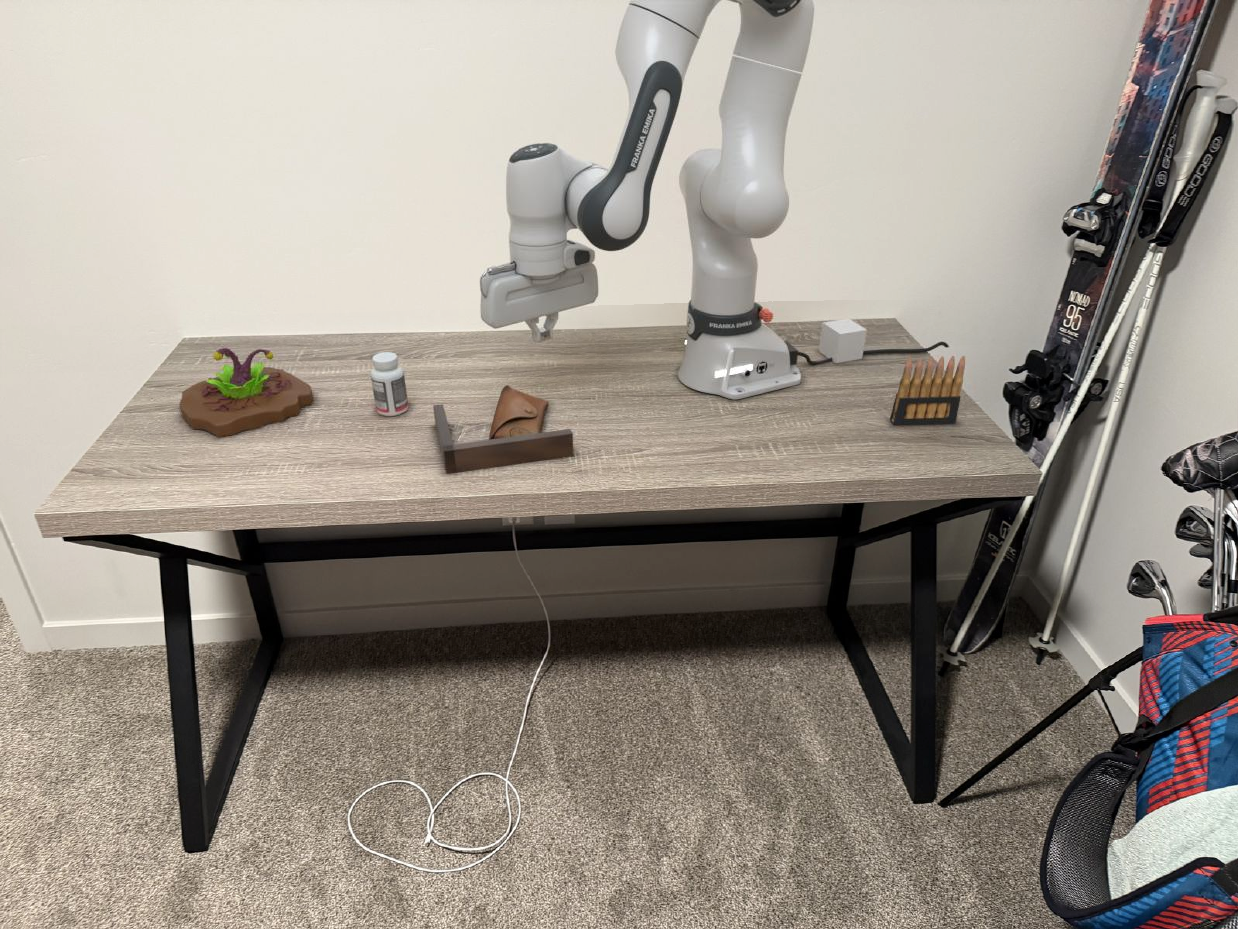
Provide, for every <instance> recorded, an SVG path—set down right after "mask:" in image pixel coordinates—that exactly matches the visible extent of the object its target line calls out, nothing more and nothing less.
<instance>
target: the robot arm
mask: <svg viewBox="0 0 1238 929" xmlns="http://www.w3.org/2000/svg"><path fill="white" fill-rule="evenodd" d="M721 1H722V0H629V3H628V6H627V8H626V10H625V14H624V15H623V18H622V21H621V24H620V26H619V30H618V35H617V39H616V44H615V49H614V50H615V51H614V54H615V60H616V63H617V67H618V69H619V72H620V73H621V75H622V77H623V79H624V82H625V85H626V89H627V93H628V103H629V104H628V110H627V111H628V112H627V116H626V118H625V119H626V120H625V123H624V126H623V129H622V132H621V135H620V138H619V140H618V144H617V147H616V149H615V153H614V155H613V159H612V162H611V164H610V167H609V168H607V167H605V166H603V165H601V164H599V163H596V162H592V161H587V160H583V159H581V158H578V157H576V156H574V155H571V154H570V153H568V152H566V151H564V150H563V149H562V148H560V147H559V146H558V145H556V144H555V143H550V142H543V143H532V144H528V145H525V146H522V147H521V148H518V149H517V150H516V151H514V152H513V153H512V154H511V155H510V157H509V159H508V162H507V165H506V175H505V176H506V177H505V198H506V199H505V200H506V211H507V215H508V217H509V221H510V226H509V227H510V228H509V232H508V244H509V245H508V248H509V262H507V263H503V264H500V265H497V266H496V265H493V266H490V267H488V268H486V271H484V272H483V273H482V275H481V276H480V278H479V287H480V288H479V290H480V304H479V305H480V306H479V308H480V310H479V312H480V319H481V321H482V322H484V323H485V324H486V325H487V326H489V327H490V328H492V329H500V328H501V329H502V328H504V327H508V326H512V325H516V324H519V323H523V322H525V324H526V325H527V327H528V328H529V330H530V331H531V338H532V341H533V342H534V343H536V344H538V343H541V342H544V341H549V340H553V339H554V332H553V331H554V328H555V326H556V324H557V322H558V320H559V313H560V312H564V311H568V310H572V309H576V308H580V307H583V306H586V305H591V304H594V303H595V302H596V300H597V299H598V296H599V277H598V270H597V267H596V265H595V264H594V262H595V260H596V251H595V250H594V249H593V248H591V247H589V246H587V245H585V244H583V243H581V242H578V241H575V240H571V239H568V232H569V231H571V230H579V231H580V232H581V233H582V234H583V236H584V237H585V238H586V239H587V240H588V242H589V243H590V244H591V245H592V246H594V247H595V248H597V249H599V250H602V251H605V252H617V251H622V250H624V249H626V248H629V247H630V246H632V245H633V244H635V243H636V242H637V241H638V240H639V239H640V237H641V236H642V235H643V233H644V231H645V230H646V227H647V226H648V222H649V218H650V209H651V208H650V207H651V194H652V188H653V183H654V179H655V177H656V173H657V171H658V168H659V166H660V162H661V160H662V156H663V153H664V151H665V147H666V144H667V142H668V138H669V135H670V133H671V130H672V126H673V124H674V121H675V118H676V114H677V111H678V108H679V105H680V104H679V103H680V102H681V97H682V96H681V95H682V91H683V86H684V82H685V78H686V75H687V71H688V69H689V66H690V64H691V60H692V58H693V55H694V53H695V50H696V48H697V46H698V44H699V41H700V39H701V36H702V34H703V31H704V29H705V26H706V24H707V20H708V17H710V15H711V13H712V12H713V10H714V9H715V7H716V6H717V5H718V4H719V3H721ZM727 1H728V2H731V3H736V4H738V6H739V12H740V25H739V26H740V27H739V33H738V35H737V38H736V41H735V44H734V48H733V52H732V55H731V59H730V62H729V67H728V70H727V75H726V78H725V81H724V86H723V89H722V93H721V96H720V101H719V104H718V114H719V115H718V116H719V119H720V122H721V148H702V149H699V150H696V151H695V152H693V153H691V154H690V155H689V156H688V157H687V158H686V159H685V161H684V162H683V164H682V166H681V167H680V171H679V174H678V185H679V189H680V192H681V194H682V197H683V200H684V204H685V210H686V218H687V226H688V232H689V240H690V246H691V247H690V248H691V255H692V256H691V257H692V267H691V268H692V269H691V270H692V271H691V290H690V292H691V293H690V300H689V301H688V303H687V304H688V305H687V315H686V334H687V338H686V340H685V341H684V345H685V348H684V353H683V356H682V360H681V363H680V366H679V369H678V372H677V378H678V380H679V381H680V383H682V384H683V385H684V386H686V387H688V388H690V389H692V390H694V391H697V392H698V391H699V392H701V393H705V394H711V395H717V396H721V397H723V398H727V399H729V400H735V401H736V400H737V401H738V400H741V399H745V398H750V397H754V396H757V395H761V394H766V393H769V392H773V391H777V390H782V389H786V388H789V387H794V386H797V385H800V384H802V374H801V371H800V369H799V368H798V366H797V364H798V363H797V362H798V357H803V358H804V359H805V360H806V363H808V364H809V365H811V366H812V365H813V366H818V365H819V366H820V365H822V364H828V363H831V362H833V361H832V360H833V359H832V358H826V359H824V360H820V361H814V360H811V358H810V356H809V354H807V353H805V352H801V351H799V349H797V348H795V346H793V345H792V344H791V343H790V342H789V341H788V340H784V339H783V338H782V337H780V336H779V335H778V334H777V333H776V332H775V331H773V330H772V329H771V328H770V327H769V326H767V325H766V324H764V323H772V320H774V313H773V312H772V311H771V310H770V309H769V308H765V307H763V306H762V305H761V304H759V303H757V302H756V301H755V300H756V299H755V298H756V289H757V281H758V280H757V279H758V268H759V262H758V257H757V254H756V252H755V250H754V247H753V243H752V239H757V240H758V239H763V238H766V237H769V236H771V235H773V234H774V233H775V232H777V230H778V229H779V228H780V227H781V226H782V225H783V223H784V221H785V220H786V218H787V216H788V212H789V208H790V196H789V193H788V190H787V186H786V183H785V182H786V181H785V171H784V170H785V169H784V168H785V148H786V138H787V131H788V130H787V129H788V125H789V120H790V117H791V113H792V110H793V106H794V103H795V98H796V95H797V92H798V88H799V85H800V81H801V78H802V75H803V74H802V73H803V72H804V68H805V64H806V62H807V61H806V60H807V57H808V53H809V48H810V43H811V38H812V32H813V24H814V18H815V3H814V1H813V0H727ZM542 317H546V318H545V320H544V323H543V326H541V327H538V326H537V324H539V323H540V318H542ZM762 321H763V322H764V323H763V322H762ZM940 346H943V347H944V348H950V346H949V344H948V343H947V342H946V341H939V342H937V343H934V344H933V345H931V346H929V347H925V348H885V349H870V350H863V356H865V355H875V354H876V355H877V354H892V353H893V354H916V353H917V354H918V353H927V352H930V351H933V350H935V349H937V348H938V347H940Z"/></svg>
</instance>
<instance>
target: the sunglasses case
mask: <svg viewBox="0 0 1238 929" xmlns="http://www.w3.org/2000/svg"><path fill="white" fill-rule="evenodd" d="M549 402H550V401H549V400H546V399H542V398H539V397H536V396H534V395H531V394H528V393H526V392H522V391H520V390H517V389H515V388H513V387H511V385H509V384H506V385H504V386H503V388H502V389H501V392H500V394H499V397H498V400H497V404H496V407H495V411H494V415H493V419H492V422H491V427H490V431H489V434H488V435H489V436H488V440H491V439H499V438H506V437H513V436H521V435H528V434H536V433H542V427H543V423H544V420H545V419H544V418H545V413H546V412H547V409H548V405H549Z"/></svg>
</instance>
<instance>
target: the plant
mask: <svg viewBox="0 0 1238 929" xmlns="http://www.w3.org/2000/svg"><path fill="white" fill-rule="evenodd" d="M260 353H263V354H264V356H265V358H266V359H267V360H273V358H274V354H273V351H271V350H268V349H263V348H258V349H256V350H254V351H251V352H250V353H249V355H247V357H246V358H245V361H244V362H243V363H241V362H240V360H239V357H238V355H236V353H235V352H233V351H232V350H231V349H230V348H228V347H222V348H219V349H217V350H215V351H214V353H213V359H214V360H215V361H221V360H222V359H223V358H224V357H225V358H229V359H231V361H232V365H228V364H223V366H222V368H221V369H222V370H221V371H222V372H215V377H213V378H212V377H209V378H208V379H206V380H201V381H199V382H196V383H195V384H193V385H191V386H189V387H188V388H186V389H184V390H183V391H181V393H182V394H181V399H180V401H179V409H180V412H181V416H182V419H183V420H184V421H185V422H186V423H187V424H188V425H189V427H190V428H192V429H194V430H202V431H203V430H204V431H207V432H209V433H210V434H212V435H213V436H215V437H216V438H221V437H227V436H233V435H236V434H239V433H242V432H245V431H250V430H254V429H259V428H262V427H265V426H267V425H269V424H273V423H278V422H279V423H280V422H284V421H285V420H286V419H288V418H291V417H295V416H299V415H300V414H301V409H302V408H303V407H306V406H310V405H312V404H313V401H314V395H313V391H312V387H311V385H310V384H309V383H307V382H305V381H304V380H302V379H300V378H299V377H297V376H296V375H294V374H292V373H290V372H287V371H285V370H284V369H281V368H275V367H270V366H265V364H264V362H263V361H260V362H258V363H256V364H254V365H253V366H252V361H253V359H254V357H255V356H256V355H257V354H260Z"/></svg>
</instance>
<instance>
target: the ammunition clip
mask: <svg viewBox="0 0 1238 929" xmlns="http://www.w3.org/2000/svg"><path fill="white" fill-rule="evenodd" d="M934 361H935V360H934V357H933V356H930V357H929V359H928V361H927V363H926V366H925V369H924V373H923V368H924V359H923V356H920V357H919V358H918V360H917V362H916V364H915V367H914V371H913V374H912V370H913V359H912V356H910V357H908V359H907V361H906V363H905V365H904V368H903V372H902V376H901V379H900V381H899V384H898V389H897V393H896V394H895V398H894V402H893V405H892V408H891V409H892V410H891V413H890V418H889V421H890V423H891V424H892V426H894V427H895V426H928V425H929V426H930V425H931V426H932V425H955V424H956V423H957V418H958V414H959V407H960V403H961V398H962V397H961V391H962V387H963V383H964V374H965V367H966V356H965V355H962V356H961V358H960V359H959V361H958V363H957V366H956V370H955V365H956V364H955V363H956V360H955V356H954V355H952V356H951V357H950V359H949V360H948V363H947V365H946V368H945V357H944V356H943V355H942V356H940V358H939V360H938V361H937V364H936V367H935V366H934V364H935V362H934ZM934 367H935V370H934ZM944 370H945V371H944ZM933 372H934V374H933ZM954 372H955V373H954ZM922 375H923V376H922Z"/></svg>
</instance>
